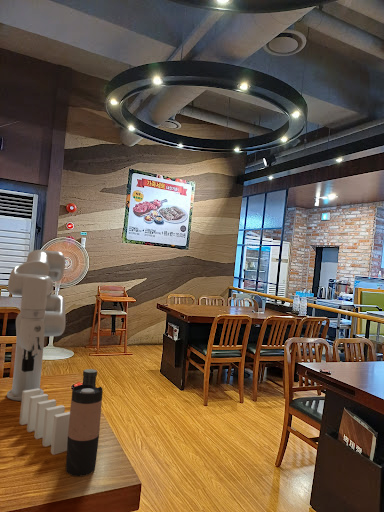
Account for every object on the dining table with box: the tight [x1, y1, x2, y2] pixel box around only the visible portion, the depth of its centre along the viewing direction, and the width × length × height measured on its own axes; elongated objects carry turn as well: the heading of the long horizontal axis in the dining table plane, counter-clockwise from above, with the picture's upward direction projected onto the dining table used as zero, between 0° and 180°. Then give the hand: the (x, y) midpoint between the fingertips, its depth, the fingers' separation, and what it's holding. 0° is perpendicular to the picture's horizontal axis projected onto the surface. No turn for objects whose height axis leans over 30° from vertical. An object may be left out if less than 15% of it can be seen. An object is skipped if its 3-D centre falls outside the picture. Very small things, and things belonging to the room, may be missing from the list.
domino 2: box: [26, 393, 49, 433], centre depth 116 cm, size 2×5×10 cm, turn 134°
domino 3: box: [33, 398, 57, 440], centre depth 112 cm, size 2×5×10 cm, turn 135°
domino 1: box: [19, 388, 41, 426], centre depth 120 cm, size 2×5×10 cm, turn 135°
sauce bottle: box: [81, 368, 98, 387], centre depth 112 cm, size 6×6×20 cm
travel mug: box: [65, 384, 103, 477], centre depth 96 cm, size 8×8×20 cm
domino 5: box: [50, 411, 70, 456], centre depth 104 cm, size 2×5×10 cm, turn 134°
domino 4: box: [41, 404, 66, 447], centre depth 108 cm, size 2×5×10 cm, turn 134°
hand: (27, 370), depth 123 cm, fingers closed
